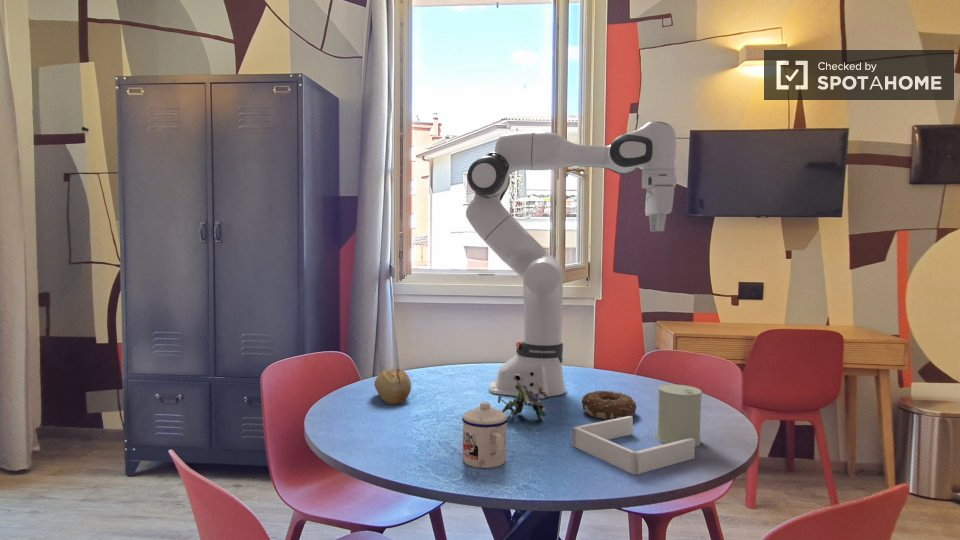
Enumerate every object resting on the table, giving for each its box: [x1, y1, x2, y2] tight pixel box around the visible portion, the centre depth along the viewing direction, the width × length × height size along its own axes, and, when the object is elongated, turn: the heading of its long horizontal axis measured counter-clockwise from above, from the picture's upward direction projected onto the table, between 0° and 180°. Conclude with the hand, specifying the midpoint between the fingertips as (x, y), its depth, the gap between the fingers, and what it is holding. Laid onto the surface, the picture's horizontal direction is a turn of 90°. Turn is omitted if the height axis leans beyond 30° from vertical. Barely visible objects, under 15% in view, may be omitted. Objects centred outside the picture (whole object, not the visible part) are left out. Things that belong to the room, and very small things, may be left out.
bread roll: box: [374, 368, 412, 406], centre depth 160 cm, size 10×15×8 cm, turn 22°
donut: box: [581, 390, 637, 420], centre depth 149 cm, size 14×14×5 cm
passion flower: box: [497, 382, 548, 423], centre depth 142 cm, size 11×11×12 cm
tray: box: [571, 415, 696, 476], centre depth 122 cm, size 17×18×4 cm
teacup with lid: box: [461, 401, 509, 469], centre depth 115 cm, size 12×9×12 cm
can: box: [656, 383, 703, 448], centre depth 130 cm, size 9×9×12 cm
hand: (657, 231), depth 163 cm, fingers open, 8 cm apart
